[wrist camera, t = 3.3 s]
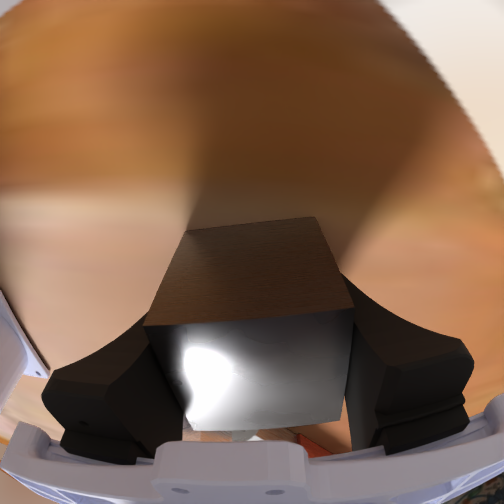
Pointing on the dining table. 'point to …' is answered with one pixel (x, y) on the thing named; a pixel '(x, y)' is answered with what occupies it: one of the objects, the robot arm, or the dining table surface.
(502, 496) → the beer stein
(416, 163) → the dining table surface
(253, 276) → the brushed steel cube
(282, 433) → the ratchet
